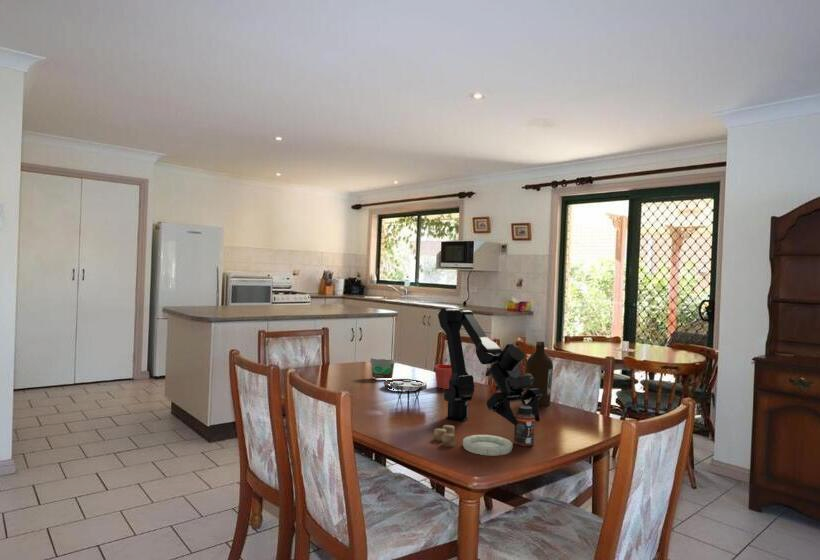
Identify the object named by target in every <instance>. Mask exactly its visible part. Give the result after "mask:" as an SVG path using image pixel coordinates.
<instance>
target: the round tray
mask: <svg viewBox="0 0 820 560" xmlns="http://www.w3.org/2000/svg"><path fill="white" fill-rule="evenodd" d="M462 445H463V447H462V448H463V449H464V450H465V451H467V452H470V453H472V454H476V455H479V454H480V455H481V456H487V457H488V456H489V457H494V456H495V457H497V456H504V455H508V454H510V453H511V452H512V451H513V450H512V449H513V442H512V441H510V440H509V439H507V438H505V437H501V436H498V435H491V434H472V435H469V436H466V437H464V438H463V440H462Z"/></svg>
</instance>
